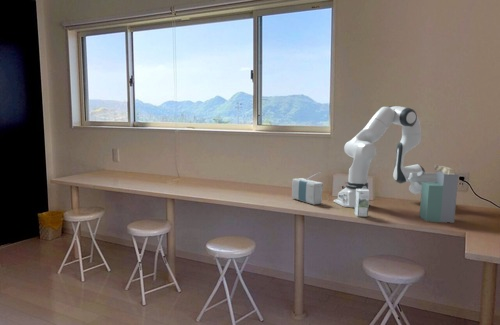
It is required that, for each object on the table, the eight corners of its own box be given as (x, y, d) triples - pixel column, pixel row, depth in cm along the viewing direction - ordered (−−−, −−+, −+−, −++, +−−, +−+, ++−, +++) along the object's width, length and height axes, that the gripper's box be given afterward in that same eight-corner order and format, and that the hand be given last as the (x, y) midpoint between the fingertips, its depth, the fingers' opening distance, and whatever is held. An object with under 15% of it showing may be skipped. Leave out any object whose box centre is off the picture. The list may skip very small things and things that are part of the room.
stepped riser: (419, 216, 217) (422, 170, 214) (446, 217, 216) (450, 171, 213) (426, 221, 207) (429, 173, 204) (454, 222, 206) (458, 174, 203)
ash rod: (434, 169, 222) (434, 164, 222) (439, 169, 222) (439, 164, 222) (449, 174, 203) (449, 169, 203) (454, 174, 203) (454, 169, 203)
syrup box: (364, 214, 219) (366, 188, 218) (368, 217, 214) (369, 190, 212) (354, 214, 219) (355, 188, 217) (357, 217, 213) (359, 190, 212)
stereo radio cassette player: (291, 199, 255) (292, 167, 253) (301, 197, 260) (302, 167, 257) (313, 205, 238) (314, 172, 235) (323, 204, 242) (325, 171, 240)
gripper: (405, 175, 245) (412, 167, 232) (439, 176, 244) (448, 167, 231) (406, 185, 242) (413, 177, 230) (441, 186, 241) (450, 177, 228)
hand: (431, 172), depth 230 cm, fingers open, 8 cm apart
